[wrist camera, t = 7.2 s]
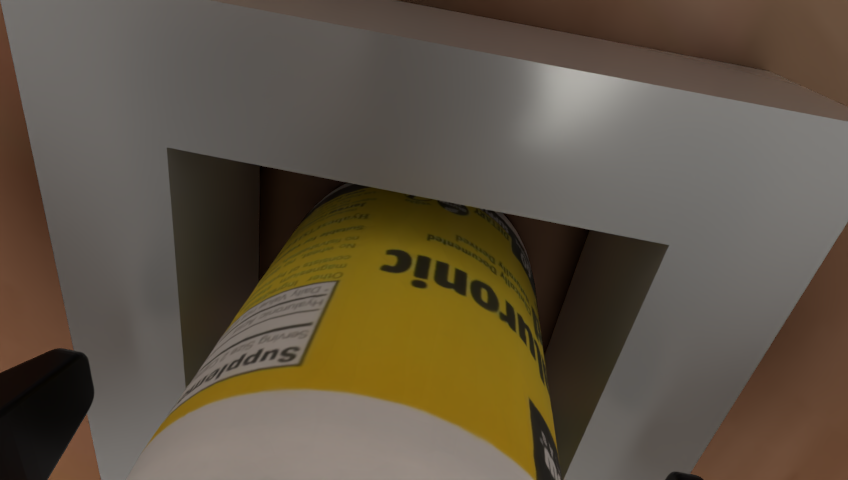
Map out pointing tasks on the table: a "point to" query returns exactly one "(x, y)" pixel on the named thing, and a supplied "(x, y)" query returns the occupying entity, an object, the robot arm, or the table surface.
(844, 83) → the table surface
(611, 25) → the table surface
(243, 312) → the supplement bottle
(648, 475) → the well
